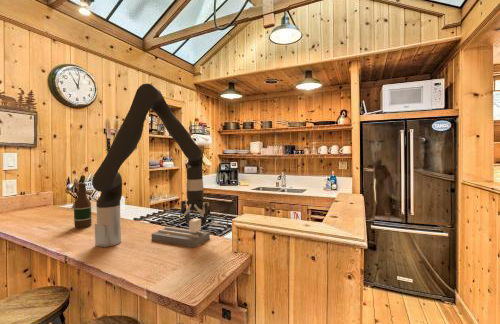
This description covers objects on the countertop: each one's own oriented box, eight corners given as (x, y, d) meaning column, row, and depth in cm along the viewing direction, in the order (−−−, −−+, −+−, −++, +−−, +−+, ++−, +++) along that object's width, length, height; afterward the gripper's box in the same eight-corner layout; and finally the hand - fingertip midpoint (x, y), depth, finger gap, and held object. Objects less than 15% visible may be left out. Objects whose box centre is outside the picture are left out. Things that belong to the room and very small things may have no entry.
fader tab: (194, 236, 109) (194, 221, 109) (189, 235, 111) (189, 221, 110) (201, 233, 114) (200, 218, 114) (195, 232, 115) (195, 218, 115)
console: (195, 247, 105) (195, 238, 105) (151, 240, 114) (151, 231, 114) (209, 238, 117) (209, 230, 116) (169, 232, 125) (168, 224, 125)
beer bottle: (83, 229, 130) (81, 184, 128) (70, 228, 131) (69, 184, 130) (95, 225, 137) (93, 182, 136) (83, 224, 139) (82, 182, 138)
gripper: (176, 189, 110) (177, 224, 111) (204, 190, 105) (204, 227, 106) (186, 186, 117) (187, 220, 118) (212, 188, 112) (213, 223, 113)
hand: (195, 223), depth 112 cm, fingers open, 8 cm apart
